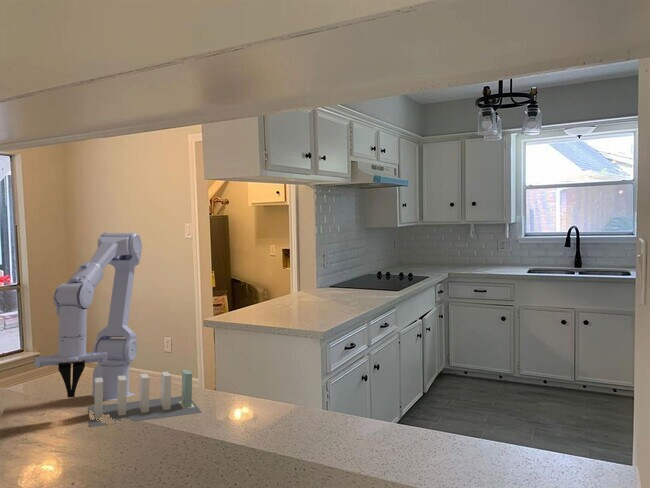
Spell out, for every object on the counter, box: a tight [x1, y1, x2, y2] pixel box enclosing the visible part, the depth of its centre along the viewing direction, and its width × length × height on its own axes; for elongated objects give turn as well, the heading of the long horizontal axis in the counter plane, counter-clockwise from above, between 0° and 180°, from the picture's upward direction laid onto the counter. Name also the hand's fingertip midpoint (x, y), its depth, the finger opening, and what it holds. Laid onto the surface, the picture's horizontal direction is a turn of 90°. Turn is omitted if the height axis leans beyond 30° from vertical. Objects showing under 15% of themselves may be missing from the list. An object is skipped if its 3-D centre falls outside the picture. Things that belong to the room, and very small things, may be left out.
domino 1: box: [93, 378, 104, 418], centre depth 114 cm, size 2×5×8 cm, turn 26°
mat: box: [87, 395, 203, 428], centre depth 119 cm, size 24×17×1 cm
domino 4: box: [160, 371, 172, 410], centre depth 121 cm, size 2×5×8 cm, turn 26°
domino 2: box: [116, 375, 127, 415], centre depth 117 cm, size 2×5×8 cm, turn 26°
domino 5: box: [181, 369, 193, 407], centre depth 123 cm, size 2×5×8 cm, turn 24°
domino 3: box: [138, 373, 150, 413], centre depth 119 cm, size 2×5×8 cm, turn 26°
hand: (71, 396), depth 112 cm, fingers closed
